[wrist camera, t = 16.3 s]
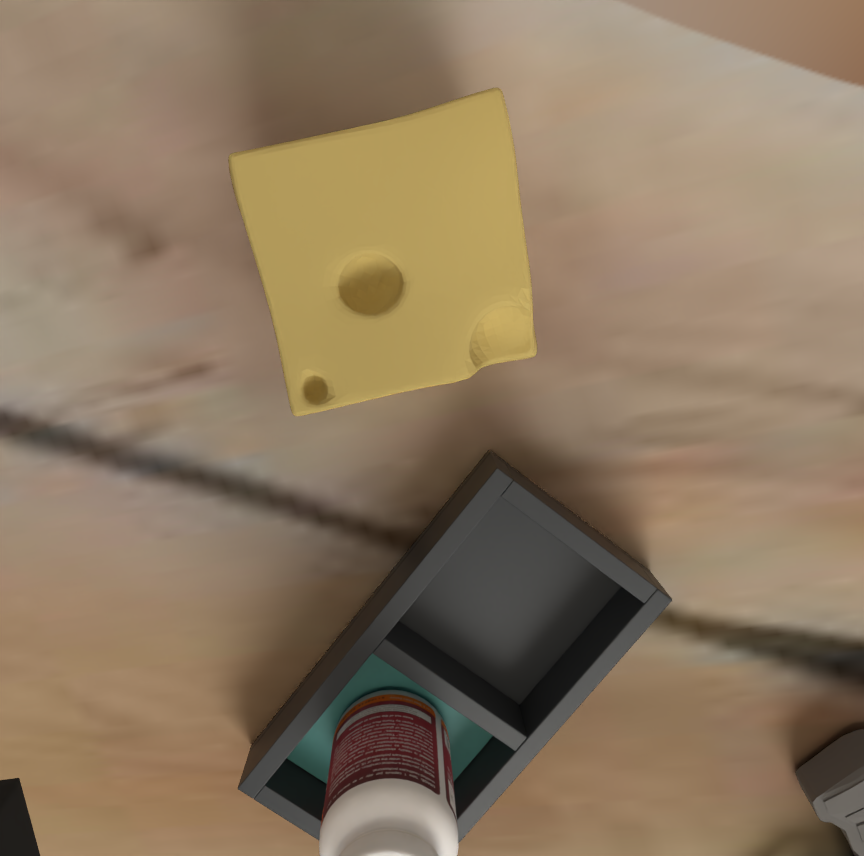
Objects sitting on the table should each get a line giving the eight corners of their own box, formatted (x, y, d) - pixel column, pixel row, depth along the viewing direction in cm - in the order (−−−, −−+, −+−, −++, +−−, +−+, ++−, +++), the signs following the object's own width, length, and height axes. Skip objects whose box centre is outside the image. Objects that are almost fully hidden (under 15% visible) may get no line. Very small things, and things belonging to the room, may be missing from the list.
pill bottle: (309, 732, 42) (276, 894, 31) (397, 662, 41) (394, 804, 30) (385, 808, 43) (379, 991, 32) (472, 742, 42) (495, 905, 32)
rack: (250, 745, 43) (236, 789, 39) (489, 449, 40) (497, 467, 36) (410, 848, 45) (410, 898, 41) (650, 571, 42) (673, 600, 38)
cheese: (521, 344, 39) (560, 371, 29) (309, 388, 39) (277, 430, 29) (483, 126, 37) (510, 76, 27) (257, 173, 37) (203, 141, 27)
